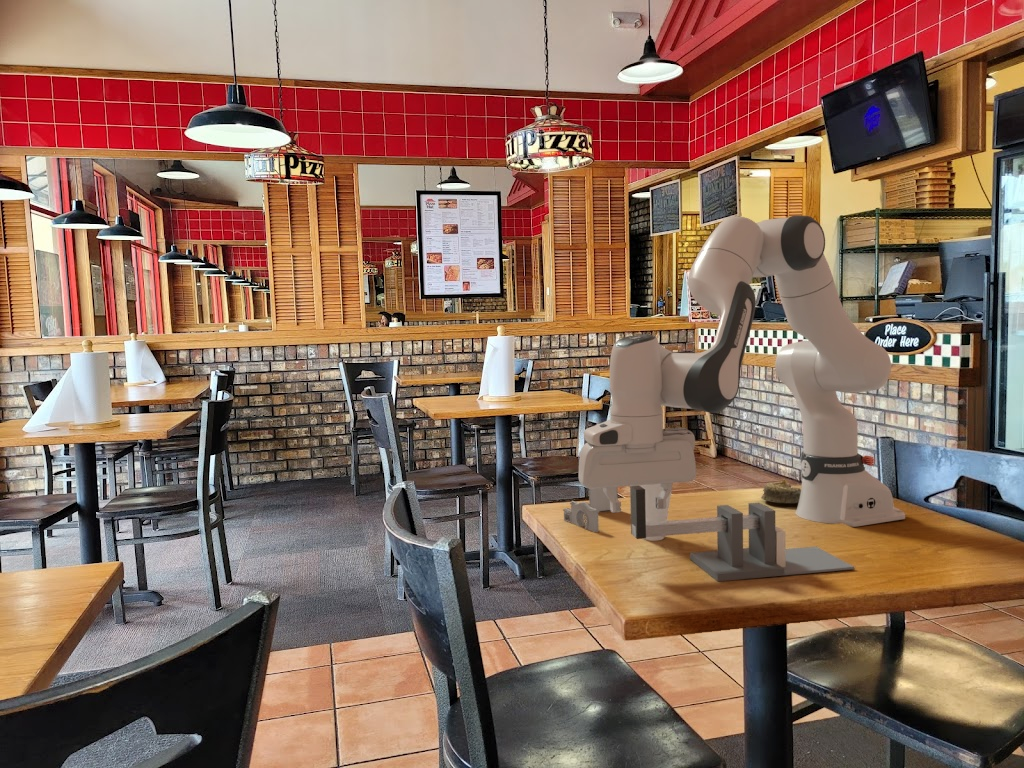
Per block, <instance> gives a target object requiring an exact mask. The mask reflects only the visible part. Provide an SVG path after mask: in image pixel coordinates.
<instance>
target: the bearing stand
mask: <svg viewBox="0 0 1024 768" xmlns="http://www.w3.org/2000/svg"><path fill="white" fill-rule="evenodd" d="M750 514H757V515H759V516H760V528H756V529H748V547H745V548H744V533H743V532H744V529H743V515H744V513H743V512H741V511H739V510H737V509H736V508H734V507H732V506H731V505H729V504H724V505H723V504H720V505H719V504H718V505H716V517H726V518H728V531H718V532H716V534H717V535H716V536H717V540H716V541H717V550H708V551H699V552H697V551H696V552H689V560H690V561H691V562H693V563H694V564H695V565H697V566H698V567H699V568H700V569H702V570H703V571H704V572H705V573H706V574H708V576H710V577H711V578H713V579H714V580H715V581H717V582H726V581H727V582H728V581H737V580H747V579H759V578H769V577H770V578H771V577H781V576H785V575H784V568H783V567H781V566H780V565H778V564H776V549H775V526H776V510H775V509H773V508H771V507H769V506H767V505H765V504H762V503H760V502H750V503H748V515H750Z"/></svg>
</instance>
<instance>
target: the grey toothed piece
mask: <svg viewBox="0 0 1024 768" xmlns="http://www.w3.org/2000/svg"><path fill="white" fill-rule="evenodd" d="M569 504H570V507H565V508H564V509H562V511H563V521H565V522H567V523H570V524H573V525H575V526H577V527H579V528H583V529H584V530H587V531H590V532H593V533H598V532H599V531H600V530H599V527H600V526H599V513H601V512H600V510H598V509H594V508H593V507H592V506H591V505H590V504H589V502H585V501H581V502H577V501H574V500H571V502H569Z"/></svg>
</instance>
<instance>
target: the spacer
mask: <svg viewBox="0 0 1024 768" xmlns="http://www.w3.org/2000/svg"><path fill="white" fill-rule="evenodd" d="M775 549H776V564H778V565H780V566H781V567H786V551H785V549H786V530H784V529H782V528H781V527H779V526H778V525H775Z"/></svg>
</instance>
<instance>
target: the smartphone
mask: <svg viewBox="0 0 1024 768" xmlns="http://www.w3.org/2000/svg"><path fill="white" fill-rule="evenodd" d="M618 493H619V492H618V487H614V493H611V494H612V496H613V497H614V499H615V500H619V499H618V498H619V497H618V496H619V495H618ZM588 494H589V495H588V497H589V498H588V499H589V500H588V503H589V504H590V505H591V506H592V507H593V508H594V509H598V510H600V512H599V513H604V512H606V513H607V512H611V510H610V501H609V499H608V498H607V496H606V494H605V493H604V491H603V488H590V489H588Z"/></svg>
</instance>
